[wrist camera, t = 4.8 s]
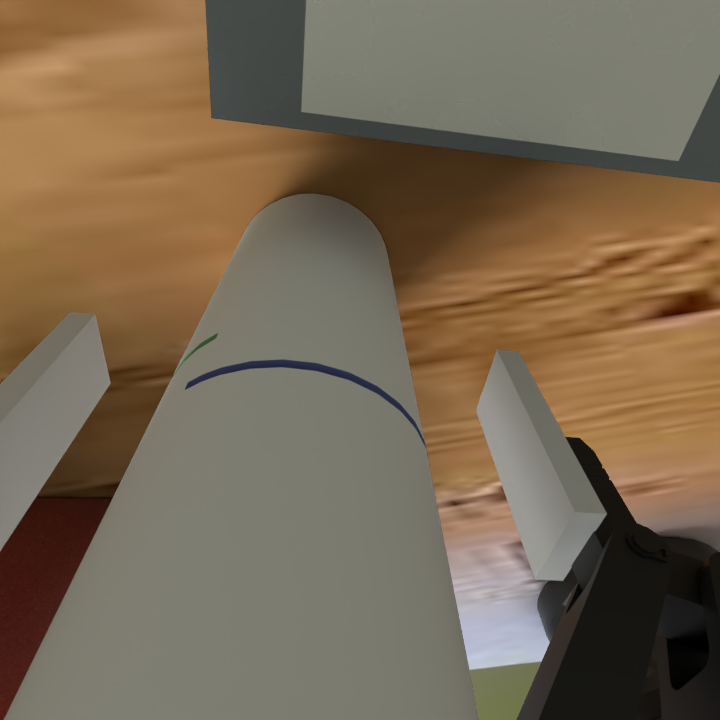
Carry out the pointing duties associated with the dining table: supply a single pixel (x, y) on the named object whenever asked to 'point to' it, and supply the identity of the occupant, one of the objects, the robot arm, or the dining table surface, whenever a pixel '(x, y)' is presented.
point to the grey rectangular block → (482, 76)
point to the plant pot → (39, 578)
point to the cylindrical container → (271, 513)
